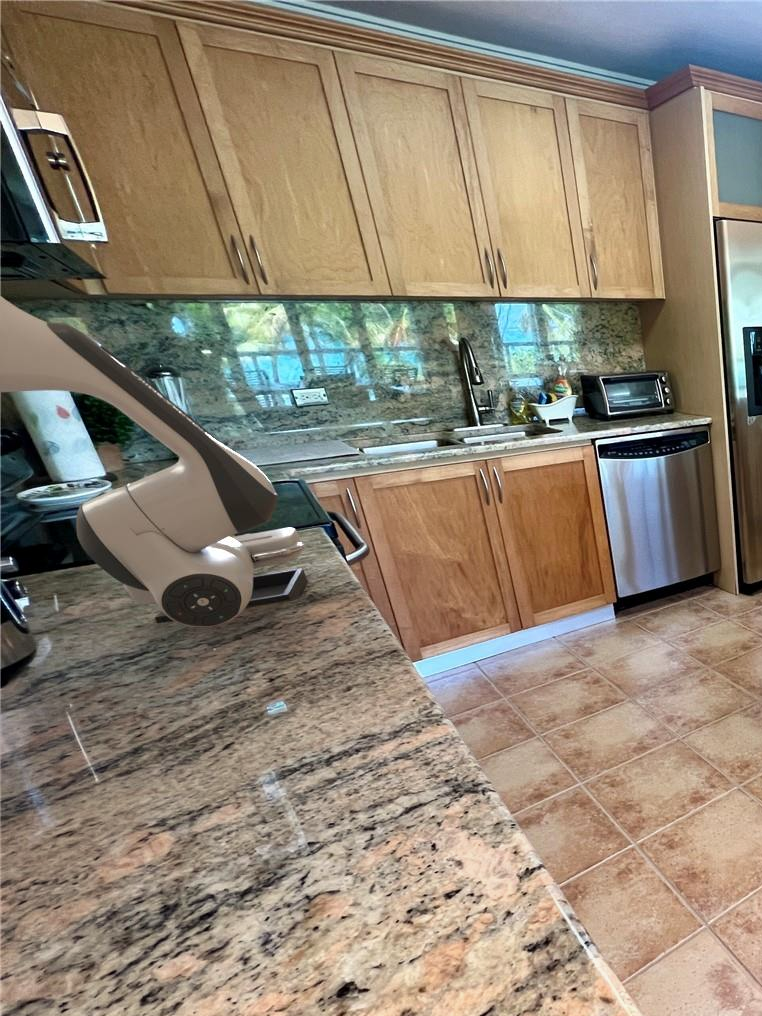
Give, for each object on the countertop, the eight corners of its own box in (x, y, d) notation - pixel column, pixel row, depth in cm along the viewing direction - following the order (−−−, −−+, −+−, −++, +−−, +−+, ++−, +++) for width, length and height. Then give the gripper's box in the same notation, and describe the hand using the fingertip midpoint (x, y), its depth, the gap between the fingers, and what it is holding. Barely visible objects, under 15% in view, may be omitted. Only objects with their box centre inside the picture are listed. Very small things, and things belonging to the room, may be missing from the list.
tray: (161, 633, 92) (154, 617, 91) (191, 601, 103) (184, 586, 102) (293, 609, 98) (287, 594, 97) (308, 581, 109) (303, 567, 108)
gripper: (296, 529, 91) (293, 510, 102) (97, 563, 80) (116, 539, 90) (311, 570, 94) (307, 548, 104) (120, 609, 83) (136, 580, 93)
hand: (217, 544), depth 97 cm, fingers closed on lemon, 5 cm apart
